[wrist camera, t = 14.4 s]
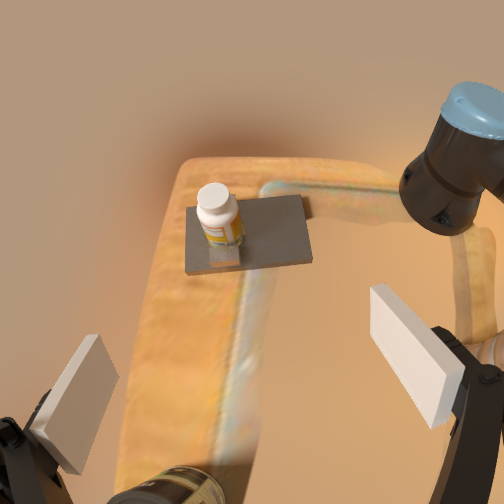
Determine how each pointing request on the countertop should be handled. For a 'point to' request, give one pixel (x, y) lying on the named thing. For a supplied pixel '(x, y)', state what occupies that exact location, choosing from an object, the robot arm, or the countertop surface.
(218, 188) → the supplement bottle
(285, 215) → the hinge plate
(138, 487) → the coffee can
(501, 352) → the plastic bottle
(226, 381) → the countertop surface
